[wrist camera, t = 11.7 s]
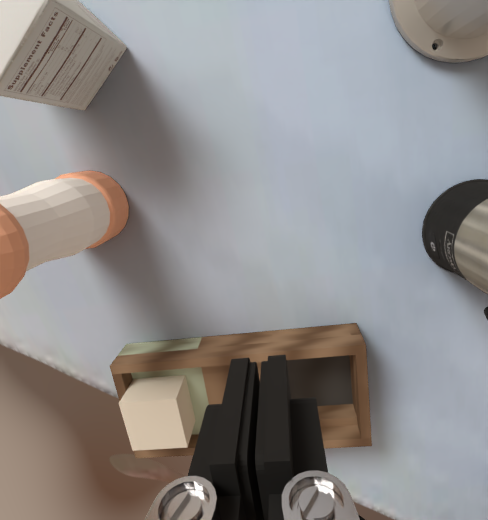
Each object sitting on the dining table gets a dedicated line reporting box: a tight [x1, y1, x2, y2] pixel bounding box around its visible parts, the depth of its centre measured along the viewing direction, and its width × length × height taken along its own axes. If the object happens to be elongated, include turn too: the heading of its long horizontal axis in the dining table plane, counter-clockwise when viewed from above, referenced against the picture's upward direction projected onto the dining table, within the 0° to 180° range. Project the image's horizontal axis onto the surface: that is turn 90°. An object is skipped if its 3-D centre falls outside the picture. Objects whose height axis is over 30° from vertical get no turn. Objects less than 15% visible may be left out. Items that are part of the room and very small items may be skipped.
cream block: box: [119, 375, 196, 451], centre depth 40 cm, size 6×6×4 cm
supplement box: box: [0, 0, 127, 110], centre depth 28 cm, size 7×7×13 cm
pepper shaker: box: [0, 171, 129, 299], centre depth 29 cm, size 7×7×19 cm
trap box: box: [110, 323, 372, 458], centre depth 41 cm, size 26×12×4 cm, turn 98°
